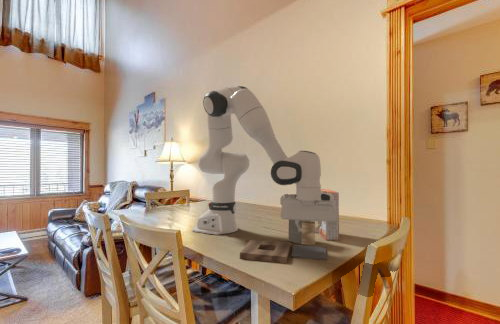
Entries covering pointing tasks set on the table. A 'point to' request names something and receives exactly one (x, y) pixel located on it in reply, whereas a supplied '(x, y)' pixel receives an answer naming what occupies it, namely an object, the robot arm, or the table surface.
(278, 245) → the pocket plate
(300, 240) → the skincare box
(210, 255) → the table surface
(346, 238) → the table surface
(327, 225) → the cracker box
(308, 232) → the maple block
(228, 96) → the robot arm
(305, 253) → the rubber mat
